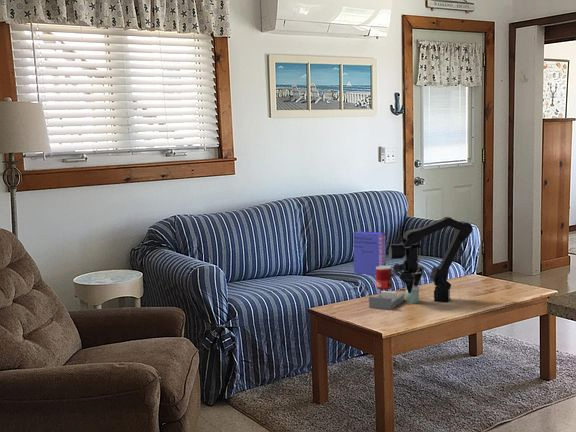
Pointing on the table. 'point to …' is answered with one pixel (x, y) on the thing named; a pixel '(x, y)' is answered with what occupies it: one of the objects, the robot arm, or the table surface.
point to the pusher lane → (385, 302)
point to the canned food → (383, 277)
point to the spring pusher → (388, 294)
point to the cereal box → (368, 252)
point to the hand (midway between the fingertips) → (412, 290)
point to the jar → (412, 295)
